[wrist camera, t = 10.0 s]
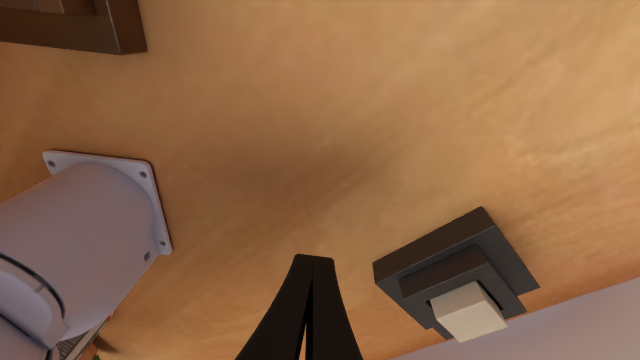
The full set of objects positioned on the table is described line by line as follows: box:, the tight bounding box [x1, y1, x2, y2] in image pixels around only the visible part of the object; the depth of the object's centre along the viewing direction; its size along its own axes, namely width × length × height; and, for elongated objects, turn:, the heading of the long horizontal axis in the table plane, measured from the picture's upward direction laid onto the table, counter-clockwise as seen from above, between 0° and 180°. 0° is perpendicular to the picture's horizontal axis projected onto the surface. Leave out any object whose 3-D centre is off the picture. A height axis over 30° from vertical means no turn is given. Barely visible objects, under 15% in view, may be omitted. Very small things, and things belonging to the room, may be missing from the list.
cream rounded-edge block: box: [430, 281, 508, 342], centre depth 19 cm, size 4×4×2 cm
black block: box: [373, 207, 540, 340], centre depth 21 cm, size 10×8×4 cm
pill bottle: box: [55, 312, 114, 360], centre depth 26 cm, size 5×5×10 cm
